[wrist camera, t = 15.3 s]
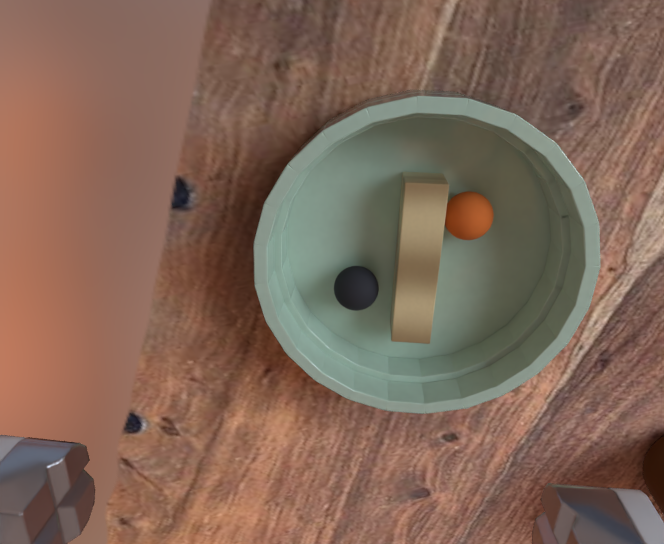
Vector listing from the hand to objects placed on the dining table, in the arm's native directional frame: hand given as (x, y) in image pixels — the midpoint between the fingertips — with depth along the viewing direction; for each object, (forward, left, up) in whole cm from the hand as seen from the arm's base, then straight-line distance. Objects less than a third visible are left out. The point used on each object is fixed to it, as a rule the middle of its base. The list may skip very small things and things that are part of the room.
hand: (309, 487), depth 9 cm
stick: (+4, +4, -24) cm, 24 cm away
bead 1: (+7, +2, -23) cm, 24 cm away
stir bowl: (+4, +4, -24) cm, 25 cm away
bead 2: (+3, +6, -22) cm, 23 cm away
